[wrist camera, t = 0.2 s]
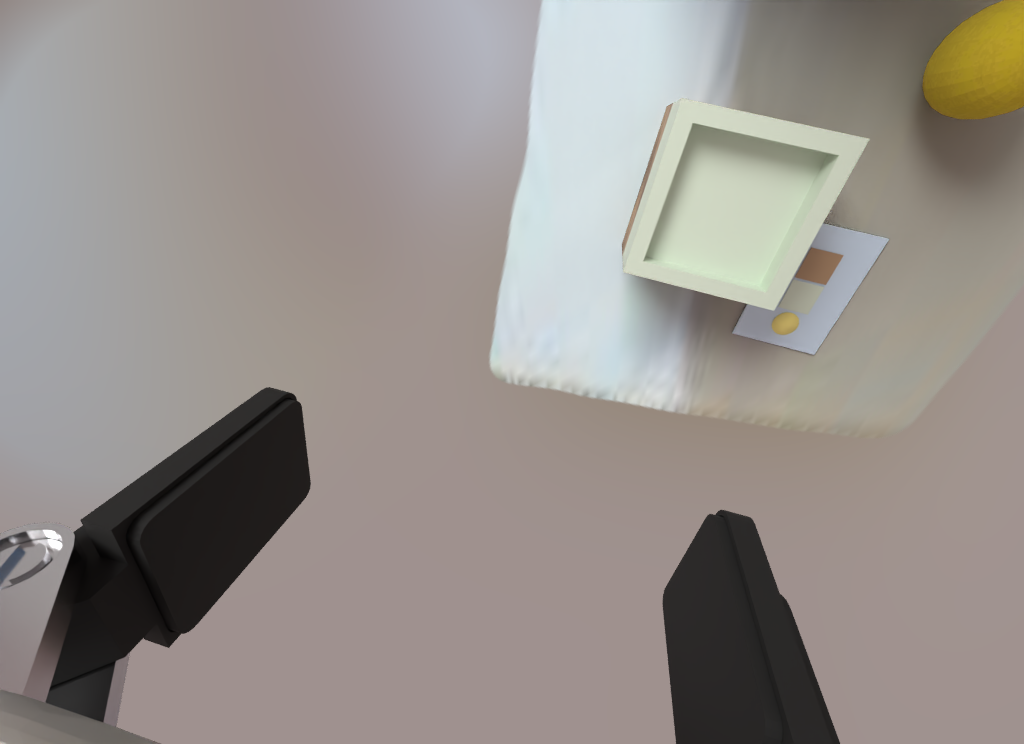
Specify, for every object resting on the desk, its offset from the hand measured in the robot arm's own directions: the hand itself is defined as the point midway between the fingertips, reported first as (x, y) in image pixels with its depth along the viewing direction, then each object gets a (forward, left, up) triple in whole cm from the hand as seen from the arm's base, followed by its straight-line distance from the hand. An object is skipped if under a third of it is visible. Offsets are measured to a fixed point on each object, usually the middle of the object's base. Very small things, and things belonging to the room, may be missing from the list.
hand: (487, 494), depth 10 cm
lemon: (-15, +19, -31) cm, 40 cm away
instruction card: (0, +18, -31) cm, 36 cm away
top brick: (-5, +8, -27) cm, 29 cm away
